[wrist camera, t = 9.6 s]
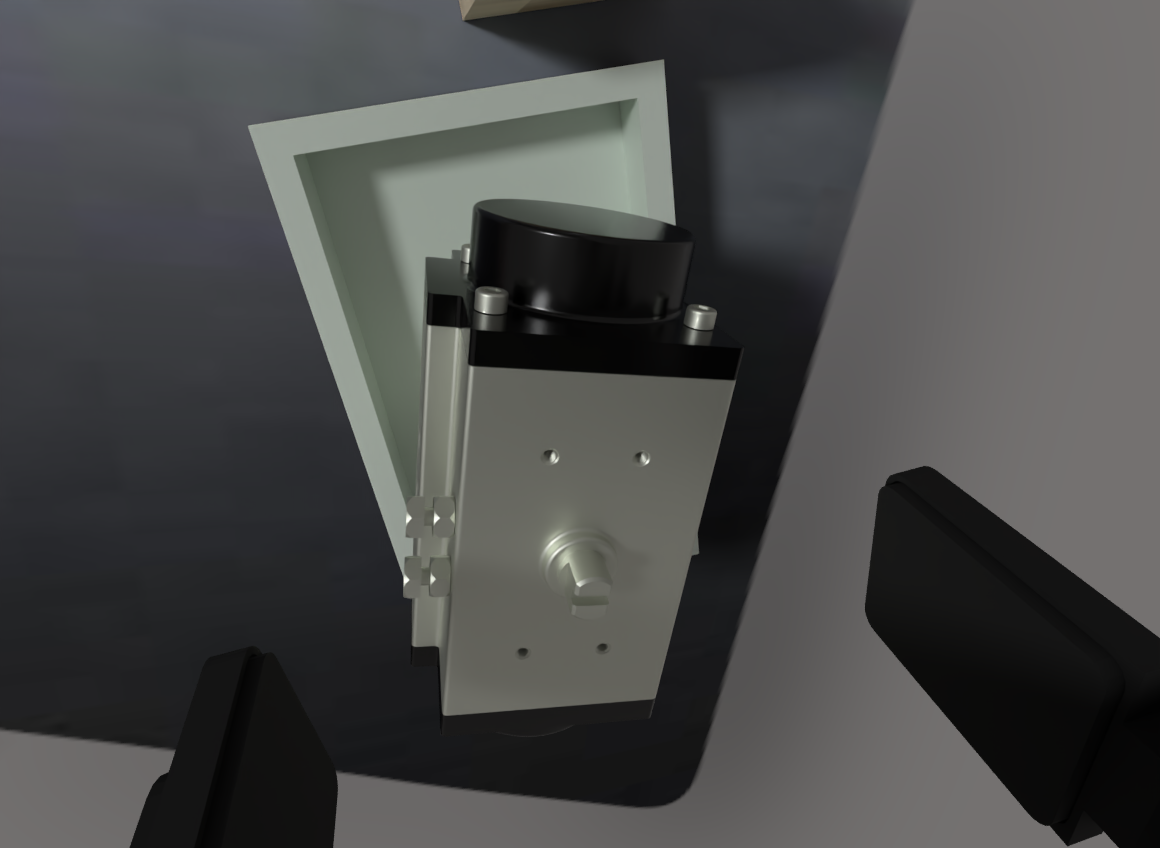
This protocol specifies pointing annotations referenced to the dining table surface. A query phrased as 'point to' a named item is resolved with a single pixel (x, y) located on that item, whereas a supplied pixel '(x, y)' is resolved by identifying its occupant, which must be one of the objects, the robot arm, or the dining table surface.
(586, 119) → the tray
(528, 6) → the bore block
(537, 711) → the pneumatic valve
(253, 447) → the dining table surface
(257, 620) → the dining table surface
